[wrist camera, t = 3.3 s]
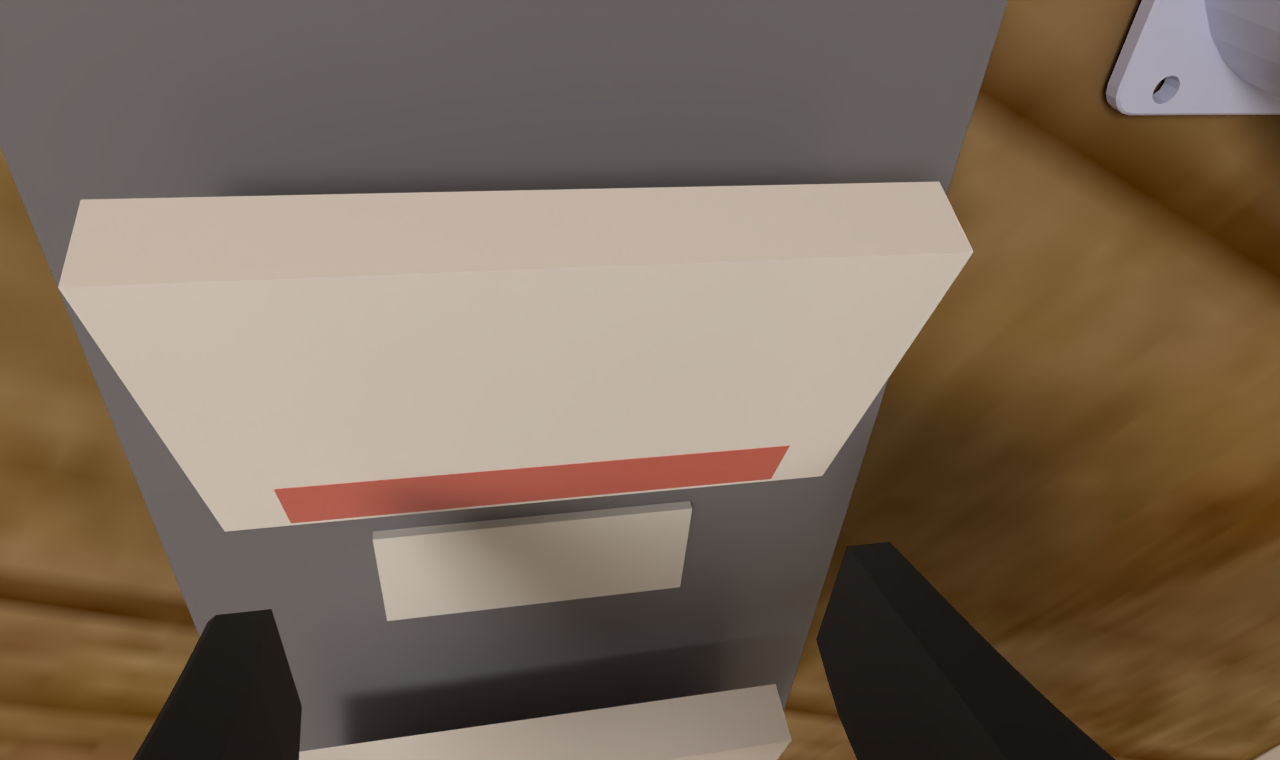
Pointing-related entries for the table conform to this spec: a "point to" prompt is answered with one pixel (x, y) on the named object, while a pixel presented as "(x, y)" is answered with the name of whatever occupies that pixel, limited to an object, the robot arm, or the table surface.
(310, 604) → the rocker switch panel
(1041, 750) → the robot arm
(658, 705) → the rocker
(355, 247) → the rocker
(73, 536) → the table surface
